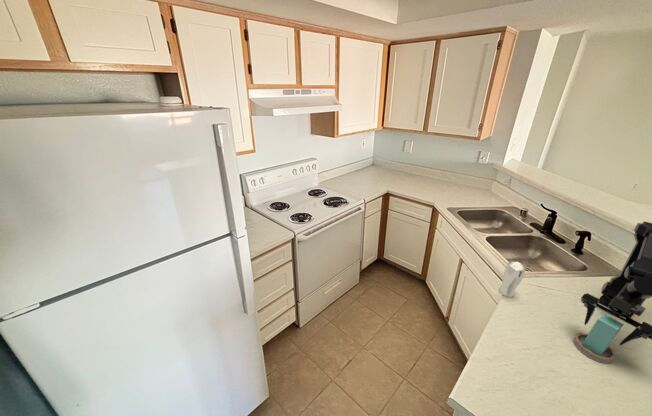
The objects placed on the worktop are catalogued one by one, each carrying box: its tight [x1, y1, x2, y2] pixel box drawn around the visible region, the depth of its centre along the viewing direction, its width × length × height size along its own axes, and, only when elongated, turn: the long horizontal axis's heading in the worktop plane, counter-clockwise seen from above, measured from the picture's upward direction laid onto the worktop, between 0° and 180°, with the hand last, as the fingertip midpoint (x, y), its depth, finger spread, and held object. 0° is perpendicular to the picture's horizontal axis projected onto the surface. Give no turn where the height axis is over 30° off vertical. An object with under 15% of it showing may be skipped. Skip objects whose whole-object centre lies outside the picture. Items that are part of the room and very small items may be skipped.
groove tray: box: [572, 332, 616, 365], centre depth 93 cm, size 11×11×2 cm
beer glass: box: [498, 261, 527, 298], centre depth 116 cm, size 7×7×15 cm
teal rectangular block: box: [582, 313, 624, 356], centre depth 91 cm, size 5×5×13 cm
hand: (601, 334), depth 90 cm, fingers open, 9 cm apart
